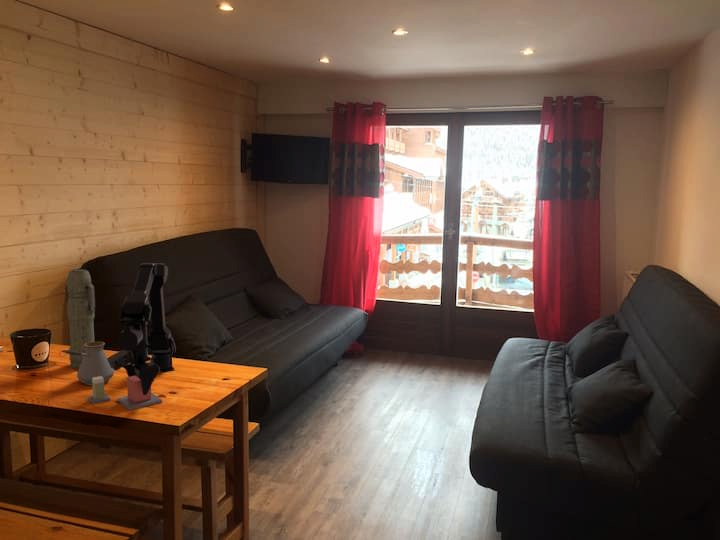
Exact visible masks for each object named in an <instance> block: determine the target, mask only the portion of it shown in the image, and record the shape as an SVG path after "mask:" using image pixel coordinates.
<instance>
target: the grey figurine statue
mask: <svg viewBox="0 0 720 540" xmlns="http://www.w3.org/2000/svg"><path fill="white" fill-rule="evenodd" d="M66 281H67V282H66V283H65V285H64V289H65V292H64V294H65V302H66V305H65V306H66V307H65V309H66V314H67V321H68V324H69V325H68V326H69V327H68V328H69V339H70V340H69V341H70V342H69V343H70V345H69V348H68V350H69V351H76V352H80V353H86V348H85V347H84V344H85V343H89V342H95V331H94V330H95V327H94V324H95V323H94V320H95V317H96V316H95V312H96V298H95V296H96V295H95V294H96V293H95V286H94V285H93V283H92V278H91V274H90V272H89V270H87V269H86V268H85V269H84V268H80V269H79V268H78V269H77V268H76V269H72V270H71V271H68V275H67V279H66ZM68 356H69V361H70V368H71V369H74V370H79V368H80V365H81V363H82V360H83V358H84V356H82V355H71V354H68Z"/></svg>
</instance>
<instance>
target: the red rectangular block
mask: <svg viewBox="0 0 720 540" xmlns="http://www.w3.org/2000/svg"><path fill="white" fill-rule="evenodd" d="M126 387H127V389H126V390H127V396H128V399H130V400H131V401H133V402H134V403H136V402H140V401H144V400H148V399H151V393H152V386H151V387H150V389H149V391H148V394H147V395H143V392H142V387H141V382H140V379H139V378H138V377H136V376H130V377H128V376H126Z"/></svg>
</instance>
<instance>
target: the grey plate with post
mask: <svg viewBox="0 0 720 540" xmlns="http://www.w3.org/2000/svg"><path fill="white" fill-rule="evenodd" d="M116 401H117V402H118V403H119V404H120V405H122V406H123V407H124V408H126V409H127V410H128V411H133V410H137V409H140V408H145V407H149V406H153V405H158V404H161V403H163V399H161V398H160V397H158V396H157V395H156V394H154V393H153V392H151V399H148V400H144V401H140V402H136V403H134V402H133V401H131V400H130V399H128V395H125V396H121V397H116Z"/></svg>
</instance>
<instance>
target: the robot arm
mask: <svg viewBox="0 0 720 540" xmlns="http://www.w3.org/2000/svg"><path fill="white" fill-rule="evenodd" d="M168 268H169V267H168V266H167V265H165V264H164V263H163V262H159V263H158V262H155V263H154V262H153V263H152V262H150V263H149V262H145V263H144V262H143V263H140V264H139V265H138V273H137V278H136V281H135V283H134V286H133V290H132V293H130V294H128V295H127V296H126V297H125V299H124V302H123V303H122V304H121V308H120V314H119V320H118V326H123V330H122V331H121V332H120V333H119V334H118V335H117V338H116V343H117V346H118V347H119V348H120V349H122V350H120V351H117V352H116V353H114V354H112V355H110V356H107V360H108V362H109V364H110V367H111V368H113V369H114V372H116V371H119V370H121V369H122V368H123V369H124V370H125V371H126V373H127V374H126V375H127V377H130V376H136V377H138V378H139V379H140V382H141V387H142V392H143V395H147V394H148V391H149V389H150V387H151V388H152V384H153V383H154V381H155V379H156V377H157V376H158V375H159V374H160V373H164V372H169V371H174V370H175V367H173V355H174V354H175V353H176V352H177V349H176V347H177V346H176V343H175V341H174V338H173V336H172V332H171V330H170V328H168V326H167V325H166V317H165V315H166V314H165V312H166V311H165V303H164V287H163V286H164V284H166V281H167V279H168V276H169V269H168ZM150 321H151V330H150V332H149V333H148V327H147V326H148V322H149V323H150ZM149 355H151V356H149Z"/></svg>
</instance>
